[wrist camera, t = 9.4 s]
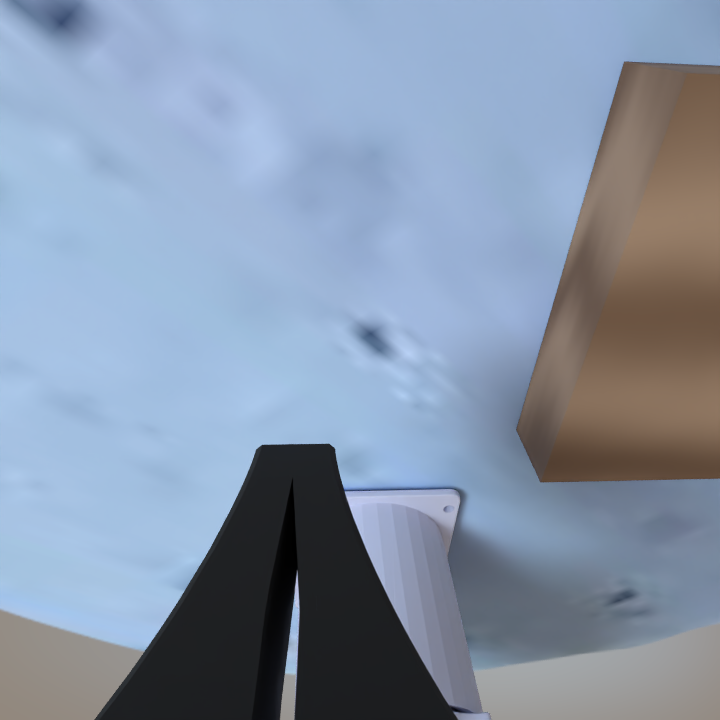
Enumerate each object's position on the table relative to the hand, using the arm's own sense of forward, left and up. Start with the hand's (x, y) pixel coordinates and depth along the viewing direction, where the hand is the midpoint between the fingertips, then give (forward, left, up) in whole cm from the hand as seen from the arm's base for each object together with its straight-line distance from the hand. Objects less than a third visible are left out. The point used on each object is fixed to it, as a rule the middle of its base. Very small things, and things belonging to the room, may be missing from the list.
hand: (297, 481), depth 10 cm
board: (0, -15, -9) cm, 18 cm away
